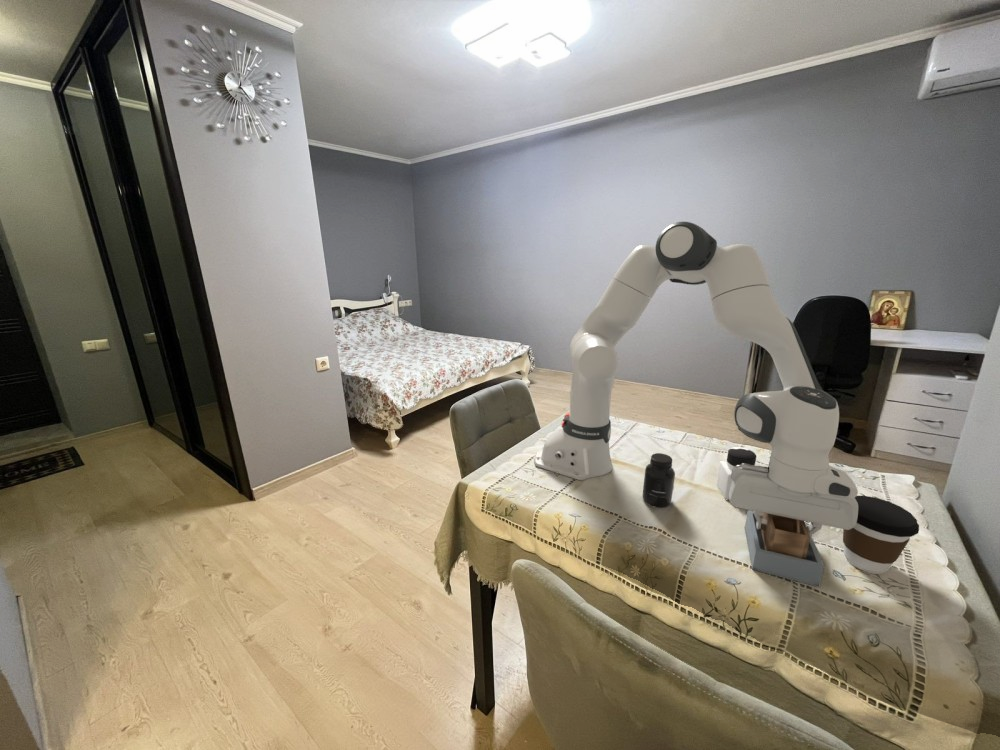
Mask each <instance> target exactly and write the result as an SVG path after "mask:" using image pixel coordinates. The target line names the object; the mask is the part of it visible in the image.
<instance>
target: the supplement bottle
mask: <svg viewBox="0 0 1000 750" xmlns="http://www.w3.org/2000/svg"><path fill="white" fill-rule="evenodd" d="M675 477H676V472H675V470H674V468H673V458H672V457H671V456H670V455H668V454H665V453H660V452H659V453H658V452H656V453H653V454H651V456H650V462H649V464H647V465H646V466H645V469H644V477H643V485H642V487H643V488H642V500H643V501H644V502H645V503H646V504H647V505H648V506H651V507H653V508H657V509H658V508H660V509H664V508H667V507H669V506H670V505H671V503H672V498H673V493H674V485H675V479H676V478H675Z"/></svg>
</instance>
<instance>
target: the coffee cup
mask: <svg viewBox="0 0 1000 750" xmlns="http://www.w3.org/2000/svg"><path fill="white" fill-rule="evenodd" d="M855 499H856V501H857V503H858V518H857V523H856V526H855V527H854V528H852V529H850V530H845V529H842V534H843V535H842V543H843V556H844V557H845V559H846V561H847V562H849V564H851V565H852V566H853V567H854V568H857V569H858V570H860V571H864V572H866V573H870V574H874V575H882V574H884V573H885V572H888V571H889V570H890V569H891V567H892V565H893V564H894V563H895V562H897V560H898V559H899V557H901V556H900V555H901V554H902V552H903V551H904V549H905V548H906V546H907V545H908V543H909V542H910V538H912V537H914V536H915V535H918V534H919V531H920V524H919V523H918V520H917V518H916V517H915V516H914V515H913V513H912V512H910V511H908V510H906V509H905V508H904V507H902V506H900V505H897V504H896V503H893V502H890V501H888V500H885V499H882V498H878V497H876V496H868V495H857V496H856V497H855Z"/></svg>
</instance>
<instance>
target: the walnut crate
mask: <svg viewBox="0 0 1000 750" xmlns="http://www.w3.org/2000/svg"><path fill="white" fill-rule="evenodd" d="M762 519H766V523H767V526H766V531H764V530H761V532H762V537H763V541H764V546H765V550H767V551H771V552H775V553H779V554H783V555H788V556H792V557H796V558H800V559H804V560H805V559H806V555H807V551H808V547H809V543H810V535H809V533H808V530H807V527H806V525H805V522H806V521H802V520H797V519H792V518H787V517H783V516H778V515H773V514H768V513H763V516H762Z"/></svg>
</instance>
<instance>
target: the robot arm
mask: <svg viewBox="0 0 1000 750" xmlns="http://www.w3.org/2000/svg"><path fill="white" fill-rule="evenodd" d="M667 280H669V281H670V282H671V283H677V284H684V285H692V286H696V285H697V286H698V285H703V284H705V283H706V285H707V286H708V290H709V294H710V300H711V304H712V305H711V306H712V310H713V315H714V317H715V320H716V322H717V324H718V326H719V327H720V328H721V329H722V330H723V331H725V332H726V333H727V334H730V335H731V336H734V337H737V338H740V339H743V340H746V341H750V342H752V343H754V344H756V345H759V346H760V347H762V348H763V349H765V350H766V351H767V352H768V353H769V355H770V356H771V358H772V360H773V364H774V366H775V368H776V372H777V374H778V376H779V379H780V381H781V384H782V387H783V389H782V390H773V391H771V390H769V391H768V390H767V391H758V392H753V393H752V392H751V393H747V394H744V395H742V396H741V397H740V398H739V399H738V400H737V402H736V405H735V407H734V415H733V416H734V421H735V424H736V426H737V428H738V429H739V431H740V432H741V433H742V434H743V435H745V436H746V437H748V438H750V439H752V440H754V441H758V442H761V443H765V444H769V445H770V446H771V450H770V456H769V462H768V466H762V465H756V464H755V465H750V464H745V463H742V465H737V466H735V467H734V468H733V469H732V473H731V478H732V480H733V481H732V484H731V487H730V491H729V499H730V500H729V502H730V503H731V505H732V507H736V508H740V509H744V510H749V511H753V513H754V516H755V518H756V520H757V522H756V527H757V529H759V530H764V531H766V526H767V523H766V519H762V518H761V517H760V516H762V513H768V514H773V515H778V516H783V517H787V518H792V519H797V520H802V521H804V522H806V523H809V524H807V525H808V526H807V530H808V533H809V535H810V540H811V537H812V538H813V535H814V534H816V533H817V532H818V531H820V530H821V529H822V528H823V526H827V527H832V528H836V529H842V530H843V529H845V530H850V529H852V528H854V527H855V526H856V523H857V518H858V503H857V501H856V499H855V497H856V496H858V492H859V489H858V487H857V485H856V483H855V482H854V480H853V479H852V478H851V477H850V475H848V473H847V472H846V471H843V470H841V469H839V468H837V467H834V466H831V465H830V459H829V456H830V451H831V450H832V449H833V447H834V445H835V444H836V443H835V442H836V438H837V435H838V429H839V424H840V423H839V422H840V407H839V405H838V404H839V403H838V401H837V400H836V398H835V397H833V396H832V395H831V394H829V393H828V392H826V391H824V389H823V388H822V387H821V385H820V383H819V382H818V379H817V377H816V374H815V371H814V369H813V367H812V364H811V362H810V359H809V357H808V355H807V352H806V349H805V347H804V344H803V342H802V340H801V337H800V335H799V333H798V331H797V329H796V327H795V324H794V323H793V322H792V321H791V319H789V317H787V316H786V315H785V314H784V313H783V311H781V309H780V308H779V306H778V303H777V302H776V300H775V298H774V296H773V293H772V289H771V286H770V282H769V278H768V274H767V272H766V269H765V267H764V264H763V262H762V259H761V258H760V255H759V254H758V252H757V250H756V249H755V248H754V247H753V246H751V245H749V244H744V243H737V244H736V243H735V244H730V245H727V246H719V245H718V242H717V240H716V238H714V237H713V236H712V235H711V234H709V233H708V232H707V231H706V230H705V229H704V228H702V227H701V226H699V225H697V224H696V223H693V222H691V221H677V222H674V223H672V224H669V226H668V225H667V227H665V228H664V230H662V231H661V233H660V234H659V235H658V237H657V239H656V243H655V246H654V245H651V244H641V245H638V246H636V247H635V248H634V249H633V250H632V251H631V252H630V253H629V254H628V256H627V257H626V258H625V260H624V261H623V262H622V263H621V265H620V266H619V267H618V269H617V271H616V272H615V274H614V275H613V277H612V278H611V280H610V282H609V283H608V285H607V288H605V290H604V291H603V294H602V295H601V297H600V298H599V301H598V302H597V304H596V305H595V307H594V308H593V310H592V311H591V312H590V313H589V315H588V316H587V317H586V318H585V320H584V321H583V323H582V324H581V326H580V327H579V328H578V330H577V331H576V332H575V334H574V336H573V337H572V338H571V341H570V344H569V354H570V356H571V360H572V362H571V363H572V373H571V374H572V375H571V387H570V393H569V411H568V412H566V413H565V414H564V416H563V417H564V418H563V419H562V421H561V427H560V428H559V429H557V430H556V431H554V432H552V433H551V434H550V435H548V437H547V438H546V439H545V440H544V443H543V446H541V448H540V449H539V450H538V451H537V452H536V454H535V456H534V465H535V466H536V467H538V468H541V469H545V470H548V471H550V472H554V473H557V474H559V475H562V476H566V477H569V478H572V479H575V480H578V481H584V480H587V479H589V478H595V477H600V476H604V475H607V474H608V473H610V472H611V471H612V469H613V463H612V458H611V451H610V439H611V433H612V432H611V431H612V426H611V425H612V424H611V423H612V422H611V419H610V418H611V417H610V415H611V414H610V413H611V399H612V391H613V386H614V384H615V383H614V382H615V376H616V372H617V368H618V361H619V359H618V358H619V357H618V353H617V349H616V348H615V346H617V344H618V343H619V342H620V341H621V339H622V338H623V337H624V336H625V335H626V334H627V333H628V332H629V331H630V330H631V329H632V328H633V327H635V325H636V324H637V322H639V319H640V317H641V316H642V315H643V313H644V311H645V310H646V309H647V306H648V305H649V303H650V302H651V300H652V299H653V297H654V295H655V294H656V292H657V290H658V289H659V288H660V286H661V285H662V284H663V283H664V282H666V281H667Z"/></svg>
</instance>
